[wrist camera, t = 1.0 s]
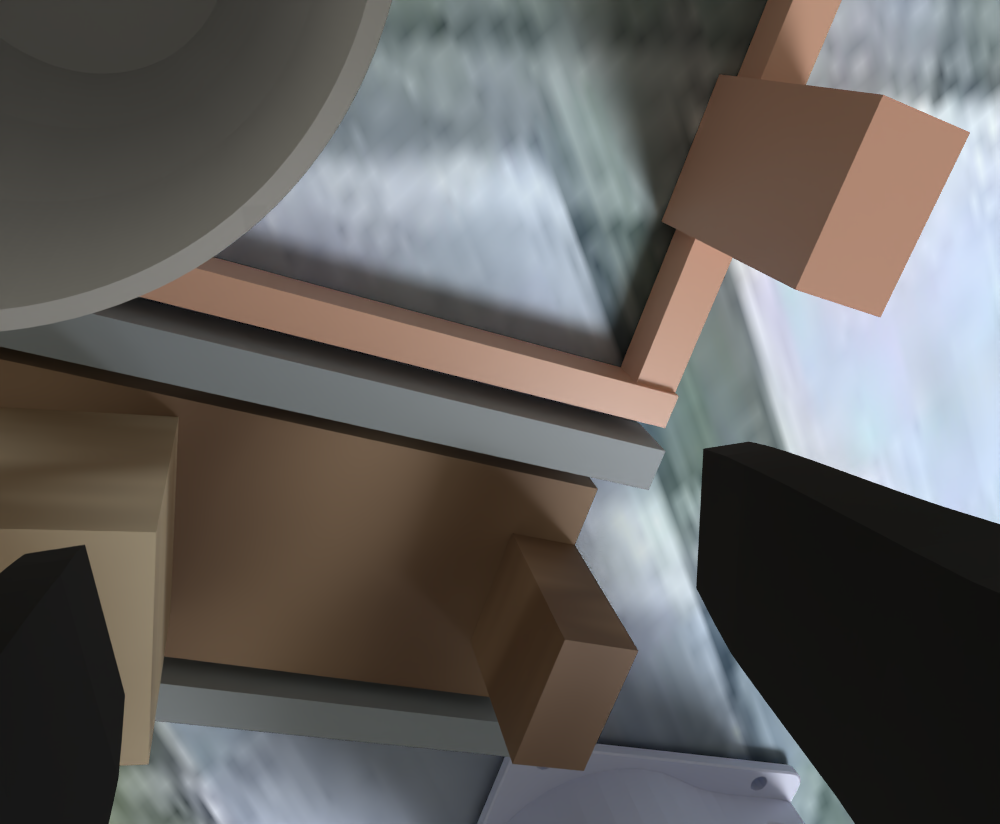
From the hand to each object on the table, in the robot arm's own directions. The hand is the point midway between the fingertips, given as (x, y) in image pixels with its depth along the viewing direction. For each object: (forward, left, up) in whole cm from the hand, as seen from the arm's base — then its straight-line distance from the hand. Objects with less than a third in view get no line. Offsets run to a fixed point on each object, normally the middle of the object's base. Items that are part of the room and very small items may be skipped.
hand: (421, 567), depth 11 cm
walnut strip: (+2, +5, -10) cm, 11 cm away
